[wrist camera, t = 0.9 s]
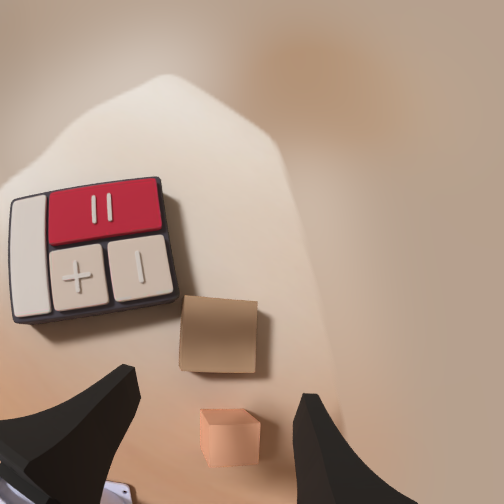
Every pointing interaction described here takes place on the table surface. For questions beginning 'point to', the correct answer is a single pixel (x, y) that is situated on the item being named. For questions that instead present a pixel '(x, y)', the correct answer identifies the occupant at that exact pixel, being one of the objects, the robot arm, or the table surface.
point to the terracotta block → (229, 437)
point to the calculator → (89, 251)
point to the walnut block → (217, 335)
